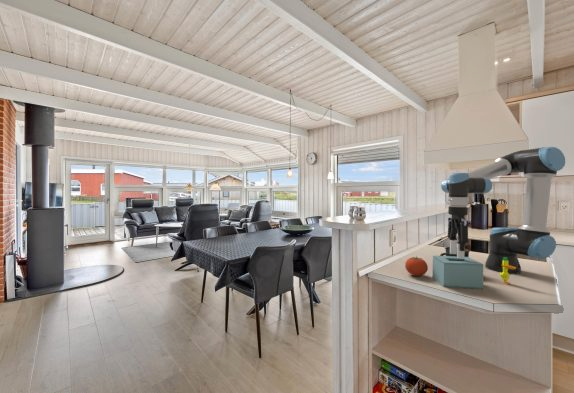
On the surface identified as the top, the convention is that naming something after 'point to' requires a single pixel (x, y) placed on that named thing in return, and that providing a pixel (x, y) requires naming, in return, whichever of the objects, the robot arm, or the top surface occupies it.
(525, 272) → the top surface
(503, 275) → the toy figure
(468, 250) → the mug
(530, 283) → the top surface
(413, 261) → the tomato
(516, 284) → the top surface
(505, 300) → the top surface
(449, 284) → the coin box
